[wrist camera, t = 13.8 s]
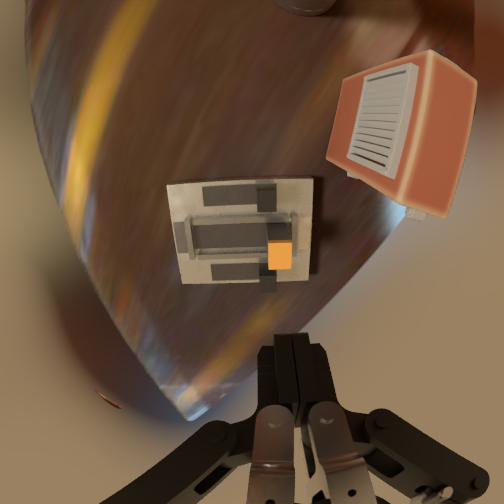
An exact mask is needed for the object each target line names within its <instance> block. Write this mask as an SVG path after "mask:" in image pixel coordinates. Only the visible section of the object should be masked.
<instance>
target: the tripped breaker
mask: <svg viewBox="0 0 504 504" xmlns="http://www.w3.org/2000/svg"><path fill="white" fill-rule="evenodd" d="M266 248H267V258H268V268H269V270H277V269H291V260H292V241H291V238H290V234H289V231H288V228H287V224H286V223H283V224H266Z"/></svg>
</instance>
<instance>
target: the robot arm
mask: <svg viewBox="0 0 504 504" xmlns="http://www.w3.org/2000/svg"><path fill="white" fill-rule="evenodd" d="M274 1H275V2H276V3H277V4H278V5H279V6H280V7H282V8H283V9H285V10H287V11H289V12H291V13H294V14H297V15H303V16H315V15H320V14H322V13H325V12H326V11H328V10H329V9H330V8H331V7H332V5H333V4H334V3H335V2H336V0H274ZM257 360H258V406H257V409H256V411H255V413H254V414H253V415H252V416H251V417H249V418H248V419H246V420H243V421H240V422H237V423H233V424H229V423H227V422H225V421H218V420H216V421H211V422H208V423H206V424H205V425H203V426H202V427H201V428H200V429H199V430H198V431H197V432H195V433H194V434H193V435H192V436H191V437H189V438H188V439H187V440H186V441H185V442H184V443H182V444H181V445H180V446H179V447H177V448H176V449H175V450H174V451H173V452H171V453H170V454H169V455H167V456H166V457H165V458H164V459H162V460H161V461H160V462H158V463H157V464H156V465H155V466H153V467H152V468H151V469H149V470H148V471H146V472H145V473H144V474H143V475H141V476H140V477H138V478H137V479H135V480H134V481H133V482H131V483H130V484H128V485H127V486H125V487H124V488H122V489H121V490H119V491H118V492H116V493H115V494H113V495H112V496H110V497H109V498H107V499H106V500H104V501H102V502H101V503H99V504H196V503H198V502H199V501H200V500H201V499H203V498H204V497H205V496H206V495H207V494H208V493H210V492H211V491H212V490H213V489H214V488H215V487H216V486H218V485H219V484H220V483H221V482H222V481H223V480H224V479H225V478H226V477H227V476H228V475H229V474H230V473H231V472H233V471H234V470H235V469H236V468H237V467H238V466H240V465H244V464H247V463H251V462H252V464H251V468H250V475H249V484H248V493H247V502H246V504H298V503H294V493H295V469H294V425H295V427H301V434H302V437H301V440H300V444H301V449H302V455H303V460H304V465H305V471H306V476H307V495H308V501H309V504H390V503H389V502H387V501H385V500H384V499H382V498H380V497H378V496H375V494H374V490H373V486H372V483H371V479H370V475H369V472H368V470H369V471H370V472H371V473H373V474H374V475H376V476H377V477H378V478H380V479H381V480H383V481H384V482H386V483H387V484H389V485H390V486H392V487H393V488H395V489H396V490H398V491H399V492H401V493H403V494H404V495H406V496H407V497H409V498H410V499H411V501H410V504H467V503H468V502H469V501H472V500H474V499H476V498H478V497H480V496H482V495H483V494H484V493H485V492H486V490H487V488H488V486H489V475H488V473H487V471H485V470H484V469H483V468H481V467H479V466H477V465H476V464H474V463H472V462H470V461H469V460H467V459H465V458H464V457H462V456H460V455H458V454H457V453H455V452H453V451H452V450H450V449H448V448H447V447H445V446H444V445H442V444H440V443H439V442H437V441H436V440H434V439H432V438H431V437H429V436H428V435H426V434H424V433H423V432H422V431H420V430H418V429H417V428H415V427H414V426H412V425H411V424H409V423H408V422H406V421H405V420H403V419H402V418H400V417H399V416H397V415H396V414H394V413H393V412H391V411H390V410H387V409H376V410H373V411H372V412H370V413H369V414H363V413H356V412H351V411H348V410H346V409H344V408H343V407H342V406H341V405H340V404H339V402H338V400H337V397H336V393H335V388H334V384H333V379H332V375H331V371H330V367H329V363H328V358H327V354H326V351H325V350H324V348H323V347H322V346H321V345H320V343H317V344H310V341H309V336H308V333H291V335H290V333H286V334H274V336H273V346H262V347H261V349H260V351H259V353H258V355H257Z"/></svg>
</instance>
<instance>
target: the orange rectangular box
mask: <svg viewBox="0 0 504 504" xmlns="http://www.w3.org/2000/svg"><path fill="white" fill-rule="evenodd" d="M476 93H477V81H476V80H475V79H474V78H473V77H471V76H470V75H469V74H467V73H466V72H464V71H463V70H462V69H460V68H459V66H457V65H456V64H454V63H453V62H452V61H450V60H449V59H447V58H445V57H443V56H441V55H439V54H438V53H436V52H435V51H433V50H426V51H422V52H419V53H415V54H412V55H409V56H405V57H402V58H399V59H396V60H393V61H390V62H387V63H384V64H381V65H378V66H376V67H373V68H370V69H368V70H365V71H362V72H360V73H357V74H355V75H352V76H350V77H347V78H345V79H343V83H342V88H341V93H340V98H339V102H338V107H337V112H336V116H335V121H334V125H333V129H332V134H331V138H330V142H329V147H328V151H327V155H326V159H327V160H328V161H330V162H332V163H333V164H335V165H337V166H339V167H340V168H342V169H344V170H346V171H347V175H348V176H349V177H352V178H356V179H358V178H359V179H361V180H362V181H364V182H366V183H367V184H369V185H370V186H372V187H374V188H375V189H377V190H378V191H380V192H381V193H383V194H384V195H386V196H387V197H389V198H390V199H392V200H393V201H395V202H396V203H398V204H400V205H403V206H406V211H405V214H406V216H407V218H410V219H413V220H417V221H424V219H425V217H426V215H427V214H430V215H433V216H436V217H439V218H442V219H446V218H447V216H448V213H449V210H450V207H451V204H452V201H453V198H454V195H455V192H456V189H457V185H458V182H459V179H460V175H461V171H462V168H463V164H464V160H465V156H466V151H467V147H468V142H469V137H470V132H471V127H472V121H473V115H474V109H475V101H476Z"/></svg>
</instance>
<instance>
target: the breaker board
mask: <svg viewBox="0 0 504 504" xmlns="http://www.w3.org/2000/svg"><path fill="white" fill-rule="evenodd" d="M167 191H168V199H169V206H170V213H171V220H172V227H173V233H174V239H175V245H176V251H177V257H178V262H179V268H180V273H181V278H182V284H199V283H246V282H259V285H260V293H264V292H276V290H277V281H301V280H308V276H309V262H310V247H311V229H312V206H313V178H312V177H311V176H262V177H236V178H218V179H202V180H189V181H178V182H170V183H169V184H168V185H167ZM283 223H286V224H287V228H288V231H289V234H290V238H291V241H292V260H291V269H277V270H269V268H268V258H267V248H266V224H283Z"/></svg>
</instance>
